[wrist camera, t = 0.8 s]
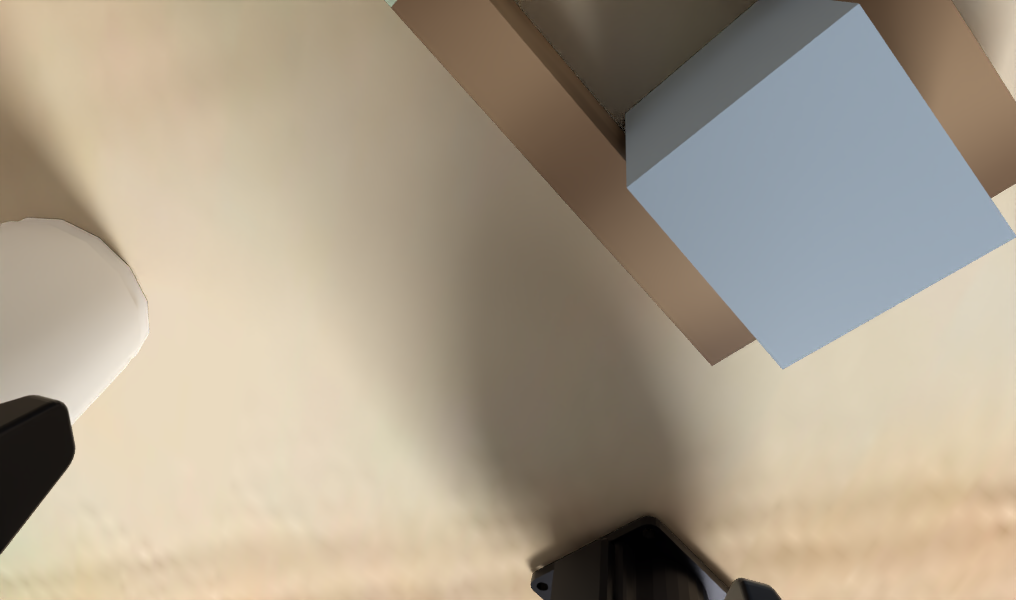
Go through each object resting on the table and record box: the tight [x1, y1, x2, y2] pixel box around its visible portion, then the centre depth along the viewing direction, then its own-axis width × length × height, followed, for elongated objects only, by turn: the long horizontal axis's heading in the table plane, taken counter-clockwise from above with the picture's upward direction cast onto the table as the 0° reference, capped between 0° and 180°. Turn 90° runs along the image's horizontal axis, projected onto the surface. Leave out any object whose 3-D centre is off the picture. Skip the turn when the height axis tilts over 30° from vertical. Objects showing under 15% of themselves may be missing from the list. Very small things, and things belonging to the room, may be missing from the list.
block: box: [625, 0, 1016, 369], centre depth 14 cm, size 5×4×7 cm
